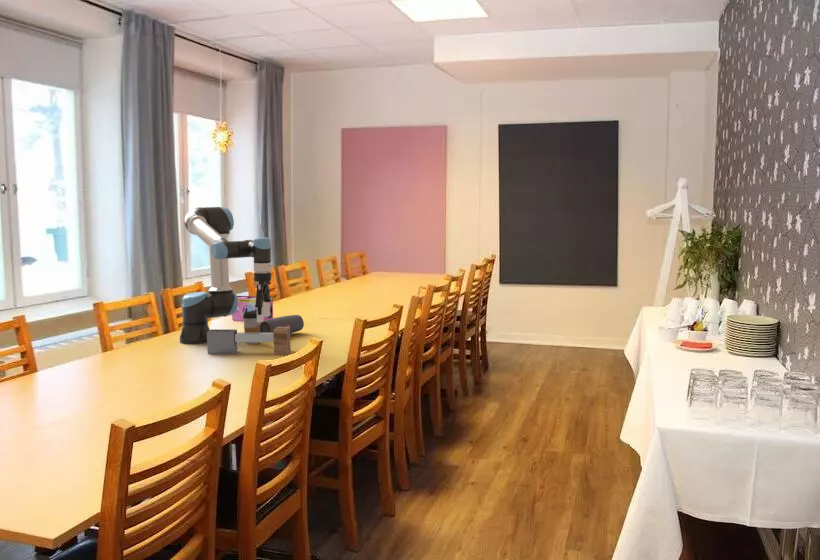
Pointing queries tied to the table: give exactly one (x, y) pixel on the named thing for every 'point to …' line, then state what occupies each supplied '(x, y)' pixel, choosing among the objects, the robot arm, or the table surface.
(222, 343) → the grey rectangular block
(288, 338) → the socket
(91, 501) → the table surface
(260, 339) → the orange-tipped grey stick
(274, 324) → the bluetooth speaker
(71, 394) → the table surface
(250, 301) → the gum box
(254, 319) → the coffee cup
